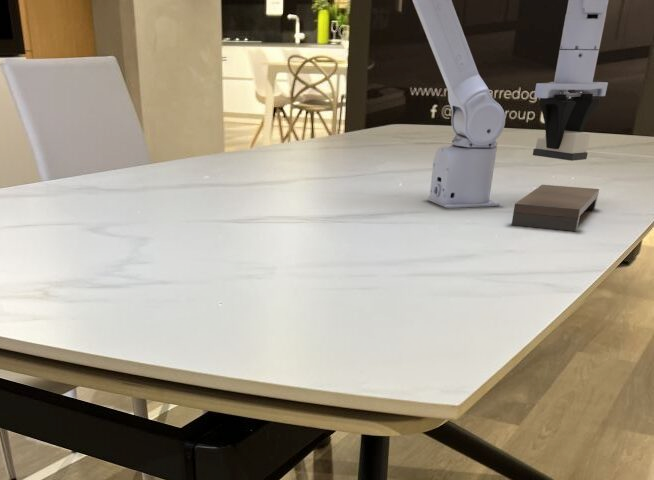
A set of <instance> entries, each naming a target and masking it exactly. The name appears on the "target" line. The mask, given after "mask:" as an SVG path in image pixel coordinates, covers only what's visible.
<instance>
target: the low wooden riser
mask: <svg viewBox="0 0 654 480" xmlns="http://www.w3.org/2000/svg"><path fill="white" fill-rule="evenodd" d="M599 193H600V189H599V188H589V187H579V186H567V185H566V186H565V185H554V184H553V185H551V184H541V185H539V186H538V187H537V188H534V190H533V191H531V192H529V193H528V194H526V195H525V196H524V197H522V198H520V200H519V199H518V201H516V202H515V203H514V206H513V213H512V219H511V226H516V227H527V228H535V229H536V228H537V229H546V230H555V231H566V232H576V231H578V228H579V223H580V217H581V216H582V215H583V213H584V212H585V211H595V209H596V207H597V201H598V197H599Z"/></svg>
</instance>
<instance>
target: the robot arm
mask: <svg viewBox="0 0 654 480" xmlns="http://www.w3.org/2000/svg"><path fill="white" fill-rule="evenodd" d="M609 1H610V0H568V1H567V8H566V13H565V17H564V23H563V28H562V33H561V39H560V46H559V51H558V57H557V63H556V69H555V75H554V79H553V81H550V82H540V83H536V84H535V89H534V96H533V97H534V98H535V99H539V101H538V102H539V103H538V105H539V107H540V110H541V113H542V117H543V121H544V129H545V134H546V147H547V148H551V149H559V147H560V145H561V142H562V139H563V135H564V130H566V131H575V132H584V131H583V130H584V128H585V126H586V124H587V122H588V120H589V119H590V118H591V116H592V114H594V111H596V109H597V107H598V106H599V105H600V100H601V98H600V97H606V94H607V90H608V85H609V82H605V81H594V77H595V73H596V66H597V62H598V57H599V53H600V52H599V51H600V47H601V42H602V37H603V32H604V27H605V22H606V17H607V10H608V5H609ZM412 3H413V6H414V9H415V11H416V13H417V16H418V18H419V21H420V23H421V26H422V29H423V31H424V33H425V35H426V39H427V41H428V44H429V46H430V48H431V51H432V54H433V56H434V59H435V62H436V64H437V66H438V69H439V71H440V74H441V76H442V79H443V81H444V84H445V86H446V89H447V101H448V103H449V106H450V109H451V120H450V123H451V128H452V131H453V132H454V134H455V135H454V137H453V139H452V140H451V145H449V146H442V147H439V148H438V149H437V150H436V152H435V154H434V158H433V163H432V172H431V180H430V192H429V197H427V201H428V202H431V203H433V204H436V205H439V206H440V207H443V208H445V209H459V208H461V209H462V208H463V209H465V208H483V207H484V208H487V207H499V206H500V203H499V202H498V201H495V200H492V199H490V198H491V191H492V184H493V177H494V170H495V164H496V163H495V162H496V155H497V150H498V149H497V148H498V142H497V140H498V138H499V137H500V136H501V134H502V133H503V131H504V128H505V125H506V112H505V111H504V109H503V106H501V104H500V103H499V102H497V100H495V99H494V98H493V96H492V94H491V93H490V89H489V87H488V86H487V83H485V81H484V79H483V78H482V77H481V75H480V73H479V71H478V68H477V65H476V63H475V60H474V57H473V54H472V52H471V49H470V47H469V44H468V41H467V39H466V36H465V34H464V30H463V27H462V25H461V23H460V20H459V17H458V15H457V12H456V9H455V6H454V3H453V0H412ZM569 91H574V92H569Z"/></svg>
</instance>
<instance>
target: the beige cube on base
mask: <svg viewBox="0 0 654 480" xmlns="http://www.w3.org/2000/svg"><path fill="white" fill-rule="evenodd" d="M590 136H591V133H590V132H585V131H582V132H575V131H566V130H564V135H563V139H562V142H561V145H560V147H559V149H551V148H547V147H546V133H544V137H537V139H536V144H535V148H533V150H532V156H535V157H541V158H542V157H543V158H549V159H556V160H557V159H558V160H562V161H563V160H565V161H571V162H574V161H582V160H585V161H586V160H587V158H588V154H589V153H588V147H589V141H590Z"/></svg>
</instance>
